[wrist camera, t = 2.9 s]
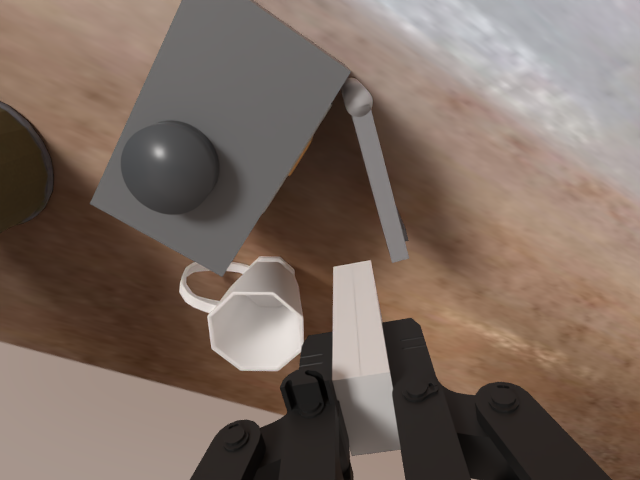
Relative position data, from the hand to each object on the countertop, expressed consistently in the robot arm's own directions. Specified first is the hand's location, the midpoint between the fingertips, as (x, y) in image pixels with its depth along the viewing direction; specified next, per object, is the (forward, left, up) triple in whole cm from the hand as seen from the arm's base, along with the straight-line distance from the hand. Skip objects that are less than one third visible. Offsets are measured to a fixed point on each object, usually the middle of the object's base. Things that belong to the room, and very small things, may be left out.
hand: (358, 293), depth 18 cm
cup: (-2, -11, -18) cm, 21 cm away
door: (0, +3, -17) cm, 17 cm away
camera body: (-9, 0, -18) cm, 20 cm away
